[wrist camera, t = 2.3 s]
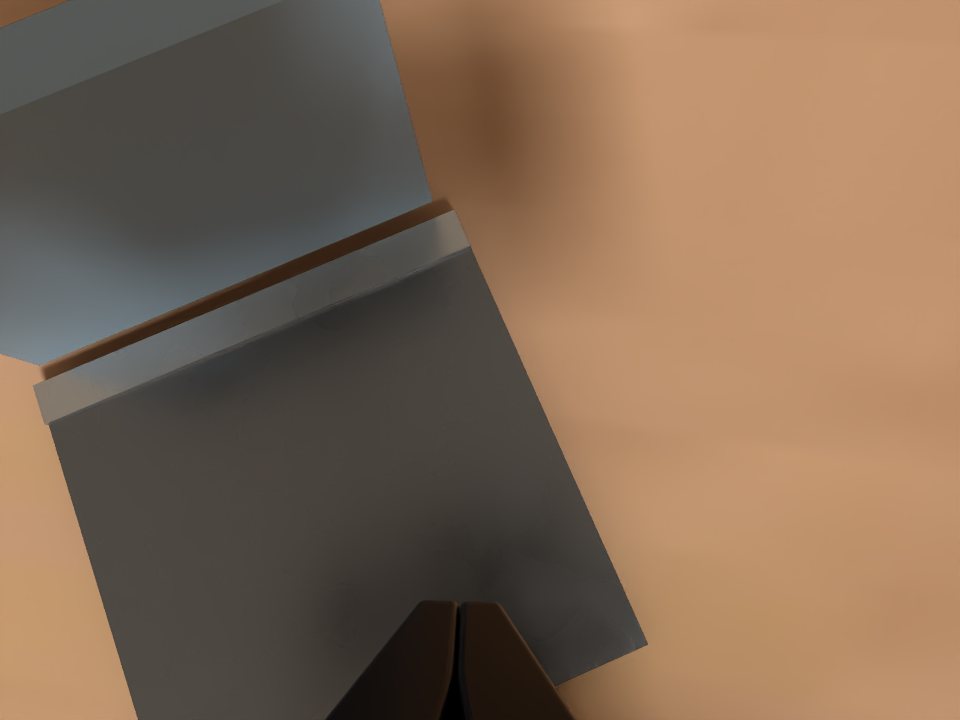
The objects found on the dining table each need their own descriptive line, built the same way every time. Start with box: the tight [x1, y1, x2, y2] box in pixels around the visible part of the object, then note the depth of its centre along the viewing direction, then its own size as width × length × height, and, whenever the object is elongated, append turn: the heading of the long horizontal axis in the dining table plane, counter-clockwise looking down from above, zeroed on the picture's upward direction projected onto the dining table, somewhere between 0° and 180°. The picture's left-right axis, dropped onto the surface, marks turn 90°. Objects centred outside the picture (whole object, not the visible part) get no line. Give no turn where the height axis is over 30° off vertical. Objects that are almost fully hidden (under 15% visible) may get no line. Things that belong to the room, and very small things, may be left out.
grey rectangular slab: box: [0, 0, 433, 366], centre depth 17 cm, size 2×12×10 cm, turn 113°
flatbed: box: [33, 210, 648, 720], centre depth 20 cm, size 13×13×1 cm
